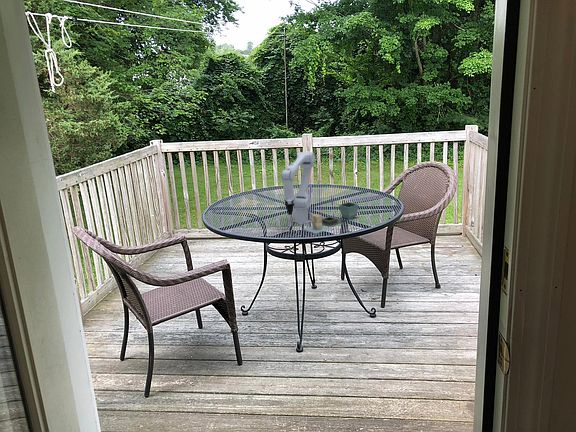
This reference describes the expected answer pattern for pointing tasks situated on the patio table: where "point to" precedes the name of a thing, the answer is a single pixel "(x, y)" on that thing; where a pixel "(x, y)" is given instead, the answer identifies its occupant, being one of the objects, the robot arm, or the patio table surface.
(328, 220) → the socket base
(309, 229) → the board
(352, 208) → the flower pot
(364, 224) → the patio table surface
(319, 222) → the peg
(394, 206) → the patio table surface
